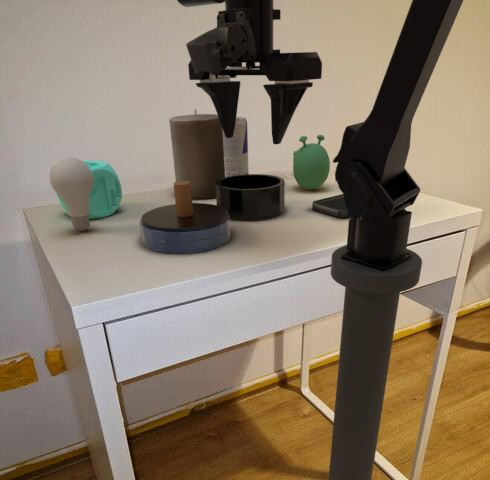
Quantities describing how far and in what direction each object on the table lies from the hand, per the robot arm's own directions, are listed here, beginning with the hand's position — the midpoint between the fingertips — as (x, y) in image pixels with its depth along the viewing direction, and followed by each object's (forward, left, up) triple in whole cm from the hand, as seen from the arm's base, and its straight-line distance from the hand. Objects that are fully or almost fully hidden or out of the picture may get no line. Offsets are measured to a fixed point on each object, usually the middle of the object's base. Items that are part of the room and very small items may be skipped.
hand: (252, 140), depth 63 cm
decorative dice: (+29, +11, -13) cm, 34 cm away
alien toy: (+11, -26, -13) cm, 31 cm away
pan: (+6, +8, -13) cm, 16 cm away
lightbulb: (+21, +17, -13) cm, 30 cm away
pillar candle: (+25, -10, -13) cm, 30 cm away
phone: (-3, -22, -13) cm, 26 cm away
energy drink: (+29, -23, -13) cm, 39 cm away
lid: (+6, +8, -10) cm, 14 cm away
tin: (+9, -8, -13) cm, 18 cm away
